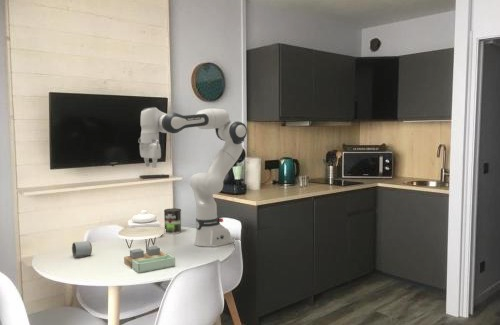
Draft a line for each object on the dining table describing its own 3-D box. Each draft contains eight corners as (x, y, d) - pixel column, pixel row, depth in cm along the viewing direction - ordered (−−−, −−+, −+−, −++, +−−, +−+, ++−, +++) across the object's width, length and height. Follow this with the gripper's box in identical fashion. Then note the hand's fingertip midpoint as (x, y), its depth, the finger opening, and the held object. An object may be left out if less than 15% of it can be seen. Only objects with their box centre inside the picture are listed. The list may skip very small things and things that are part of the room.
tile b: (140, 254, 207) (140, 248, 207) (143, 257, 203) (143, 250, 203) (130, 256, 204) (129, 250, 204) (133, 258, 200) (133, 252, 200)
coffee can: (178, 234, 262) (177, 211, 261) (162, 233, 264) (161, 211, 263) (183, 230, 272) (183, 208, 271) (168, 230, 274) (167, 208, 273)
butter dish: (160, 238, 254) (160, 211, 253) (129, 240, 249) (128, 213, 248) (158, 231, 271) (157, 206, 270) (128, 234, 266) (127, 208, 265)
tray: (167, 261, 205) (167, 253, 205) (175, 266, 198) (174, 257, 198) (131, 268, 196) (131, 259, 196) (138, 273, 189) (138, 264, 188)
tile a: (156, 252, 212) (155, 246, 211) (159, 254, 207) (159, 248, 207) (146, 253, 209) (146, 247, 209) (149, 256, 205) (149, 249, 204)
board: (160, 256, 214) (160, 250, 214) (168, 261, 206) (168, 255, 205) (124, 263, 204) (124, 256, 204) (131, 268, 196) (130, 261, 196)
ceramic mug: (93, 256, 217) (92, 241, 217) (76, 259, 212) (75, 243, 212) (86, 252, 225) (85, 237, 225) (69, 255, 220) (69, 240, 220)
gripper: (163, 139, 210) (164, 167, 211) (149, 139, 227) (149, 165, 228) (151, 139, 207) (152, 168, 208) (137, 139, 224) (138, 166, 225)
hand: (150, 167), depth 218 cm, fingers open, 8 cm apart
